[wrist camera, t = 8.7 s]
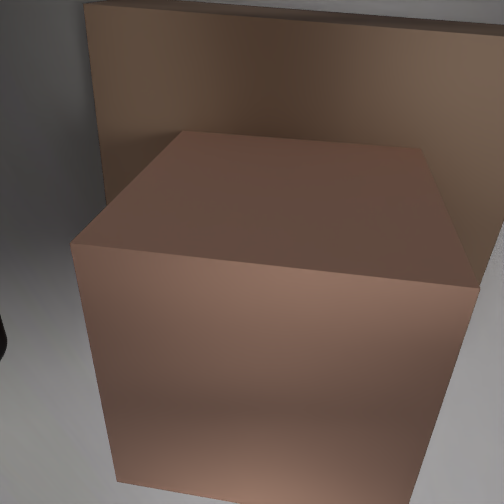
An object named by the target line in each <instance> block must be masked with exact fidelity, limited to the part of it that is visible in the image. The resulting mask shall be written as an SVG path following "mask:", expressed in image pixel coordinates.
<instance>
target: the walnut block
mask: <svg viewBox="0 0 504 504" xmlns="http://www.w3.org/2000/svg"><path fill="white" fill-rule="evenodd" d="M83 6H84V15H85V23H86V32H87V41H88V49H89V58H90V67H91V75H92V84H93V93H94V101H95V110H96V119H97V127H98V136H99V144H100V153H101V162H102V170H103V179H104V188H105V196H106V205H108V204H109V203H110V202H111V201H112V200H113V199H114V198H115V197H116V196H117V195H118V194H119V193H120V192H121V191H122V190H123V189H124V188H125V187H126V186H128V185H129V184H130V183H131V182H132V181H133V180H134V179H135V178H136V177H137V176H138V175H139V174H140V173H141V172H142V171H143V170H144V169H145V168H146V167H147V166H148V165H149V164H150V163H151V162H152V161H153V160H154V159H155V158H156V157H157V156H158V155H159V154H160V153H161V152H162V151H163V150H164V149H165V148H166V147H167V146H168V145H169V144H170V143H171V142H172V141H173V140H174V139H175V138H176V137H177V136H178V135H179V134H180V133H181V132H182V131H195V132H208V133H221V134H234V135H248V136H261V137H274V138H287V139H300V140H314V141H327V142H340V143H353V144H366V145H380V146H393V147H406V148H419V149H421V150H422V153H423V155H424V157H425V160H426V162H427V164H428V167H429V169H430V171H431V174H432V176H433V178H434V181H435V183H436V185H437V188H438V190H439V192H440V195H441V197H442V200H443V202H444V204H445V207H446V209H447V211H448V214H449V216H450V218H451V221H452V223H453V225H454V228H455V230H456V232H457V235H458V237H459V239H460V242H461V244H462V246H463V249H464V251H465V254H466V256H467V258H468V261H469V263H470V265H471V268H472V270H473V272H474V275H475V277H476V279H477V282H478V284H479V286H480V283H481V280H482V278H483V275H484V272H485V270H486V267H487V264H488V262H489V259H490V256H491V254H492V251H493V248H494V245H495V243H496V240H497V237H498V235H499V232H500V229H501V227H502V224H503V221H504V25H497V24H484V23H471V22H458V21H444V20H431V19H418V18H404V17H391V16H378V15H364V14H351V13H338V12H325V11H311V10H298V9H285V8H271V7H258V6H245V5H231V4H218V3H205V2H191V1H178V0H107V1H100V2H93V3H86V4H83Z"/></svg>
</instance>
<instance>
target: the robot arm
mask: <svg viewBox="0 0 504 504" xmlns="http://www.w3.org/2000/svg"><path fill="white" fill-rule="evenodd" d="M6 347H7V337H6V333H5V330H4V326H3V323H2V319H1V316H0V361H1V359H2V357H3V355H4V353H5V351H6Z"/></svg>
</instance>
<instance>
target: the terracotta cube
mask: <svg viewBox="0 0 504 504" xmlns="http://www.w3.org/2000/svg"><path fill="white" fill-rule="evenodd" d="M70 247H71V252H72V257H73V262H74V267H75V272H76V277H77V282H78V287H79V292H80V297H81V302H82V308H83V313H84V318H85V323H86V328H87V333H88V338H89V343H90V348H91V353H92V358H93V363H94V368H95V373H96V378H97V383H98V388H99V393H100V398H101V403H102V408H103V413H104V418H105V424H106V429H107V434H108V439H109V444H110V449H111V454H112V459H113V464H114V469H115V474H116V479H117V482H122V483H127V484H133V485H139V486H144V487H150V488H156V489H161V490H167V491H173V492H178V493H184V494H189V495H195V496H201V497H206V498H212V499H218V500H223V501H229V502H235V503H240V504H409V501H410V498H411V495H412V492H413V489H414V486H415V483H416V480H417V477H418V474H419V471H420V468H421V465H422V462H423V459H424V456H425V453H426V450H427V447H428V444H429V441H430V438H431V435H432V432H433V429H434V426H435V423H436V420H437V417H438V414H439V411H440V408H441V405H442V402H443V399H444V396H445V393H446V390H447V387H448V385H449V382H450V379H451V376H452V373H453V370H454V367H455V364H456V361H457V358H458V355H459V352H460V349H461V346H462V343H463V340H464V337H465V334H466V331H467V328H468V325H469V322H470V319H471V316H472V313H473V310H474V307H475V304H476V301H477V298H478V295H479V292H480V286H479V284H478V282H477V279H476V277H475V275H474V272H473V270H472V268H471V265H470V263H469V261H468V258H467V256H466V254H465V251H464V249H463V246H462V244H461V242H460V239H459V237H458V235H457V232H456V230H455V228H454V225H453V223H452V221H451V218H450V216H449V214H448V211H447V209H446V207H445V204H444V202H443V200H442V197H441V195H440V192H439V190H438V188H437V185H436V183H435V181H434V178H433V176H432V174H431V171H430V169H429V167H428V164H427V162H426V160H425V157H424V155H423V153H422V150H421V149H419V148H406V147H393V146H380V145H366V144H353V143H340V142H327V141H314V140H300V139H287V138H274V137H261V136H248V135H234V134H221V133H208V132H195V131H182V132H181V133H180V134H179V135H178V136H177V137H176V138H175V139H174V140H173V141H172V142H171V143H170V144H169V145H168V146H167V147H166V148H165V149H164V150H163V151H162V152H161V153H160V154H159V155H158V156H157V157H156V158H155V159H154V160H153V161H152V162H151V163H150V164H149V165H148V166H147V167H146V168H145V169H144V170H143V171H142V172H141V173H140V174H139V175H138V176H137V177H136V178H135V179H134V180H133V181H132V182H131V183H130V184H129V185H128V186H126V187H125V188H124V189H123V190H122V191H121V192H120V193H119V194H118V195H117V196H116V197H115V198H114V199H113V200H112V201H111V202H110V203H109V204H108V205H107V206H106V207H105V208H104V209H103V210H102V211H101V212H100V213H99V214H98V215H97V216H96V217H95V218H94V219H93V220H92V221H91V222H90V223H89V224H88V225H87V226H86V227H85V228H84V229H83V230H82V231H81V232H80V233H79V234H78V235H77V236H76V237H75V238H74V239H73V240H72V241H71V242H70Z"/></svg>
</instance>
